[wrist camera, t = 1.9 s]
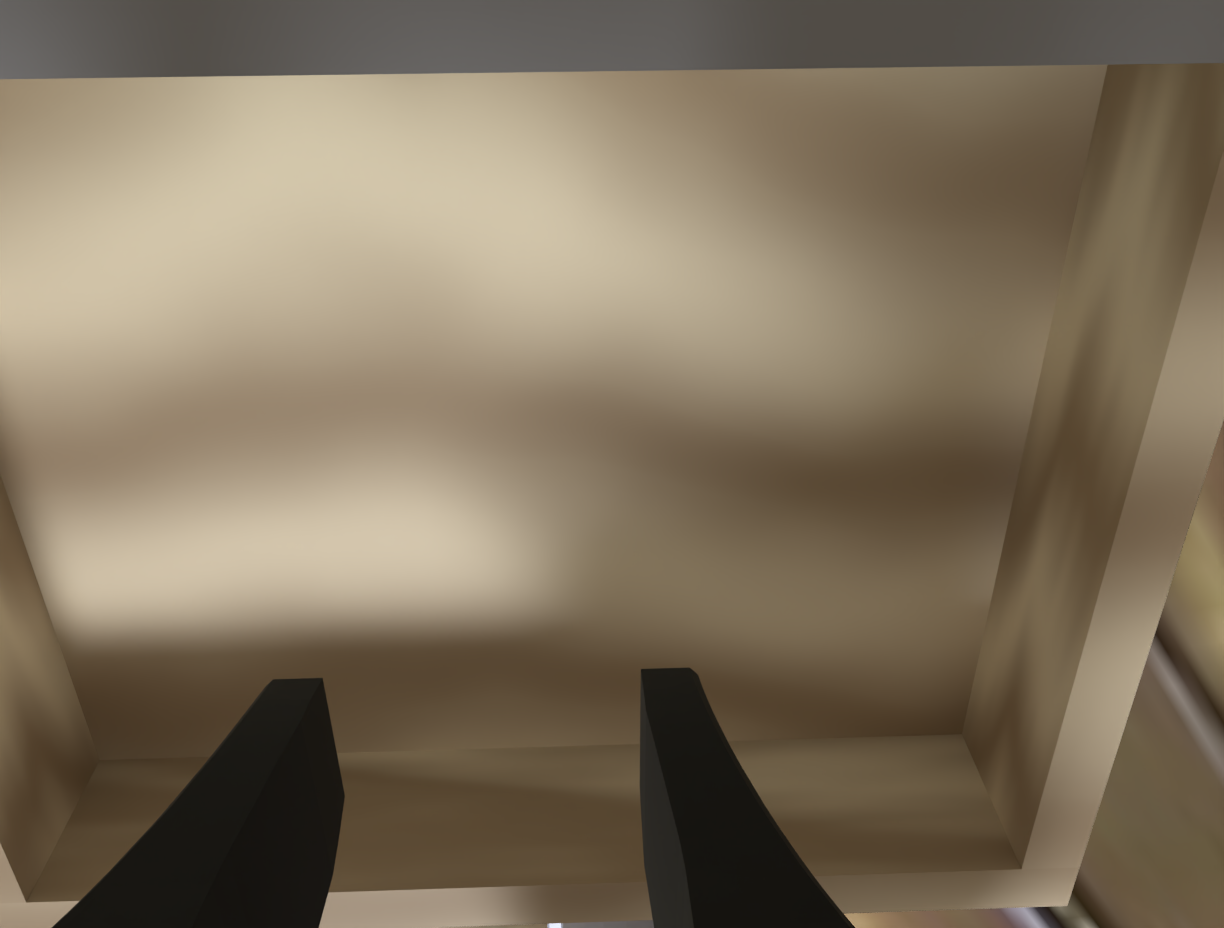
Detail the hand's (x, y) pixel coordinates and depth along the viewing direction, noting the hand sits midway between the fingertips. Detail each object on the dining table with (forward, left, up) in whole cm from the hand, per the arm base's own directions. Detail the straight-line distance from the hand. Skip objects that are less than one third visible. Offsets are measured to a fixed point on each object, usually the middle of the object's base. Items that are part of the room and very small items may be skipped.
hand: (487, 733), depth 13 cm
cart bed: (0, 0, -9) cm, 9 cm away
